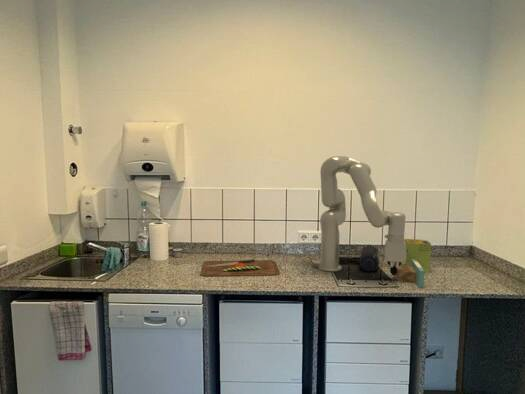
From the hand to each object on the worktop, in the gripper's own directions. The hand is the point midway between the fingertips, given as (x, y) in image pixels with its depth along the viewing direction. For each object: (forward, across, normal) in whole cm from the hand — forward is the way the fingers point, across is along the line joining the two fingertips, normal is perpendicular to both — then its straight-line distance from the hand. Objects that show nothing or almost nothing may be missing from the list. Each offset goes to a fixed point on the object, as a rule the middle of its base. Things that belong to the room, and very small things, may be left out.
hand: (393, 274), depth 195 cm
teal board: (+2, +11, 0) cm, 11 cm away
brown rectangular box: (+2, +6, +2) cm, 7 cm away
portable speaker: (+3, -10, +21) cm, 23 cm away
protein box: (+3, +13, +21) cm, 25 cm away
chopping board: (+5, -78, +2) cm, 78 cm away
